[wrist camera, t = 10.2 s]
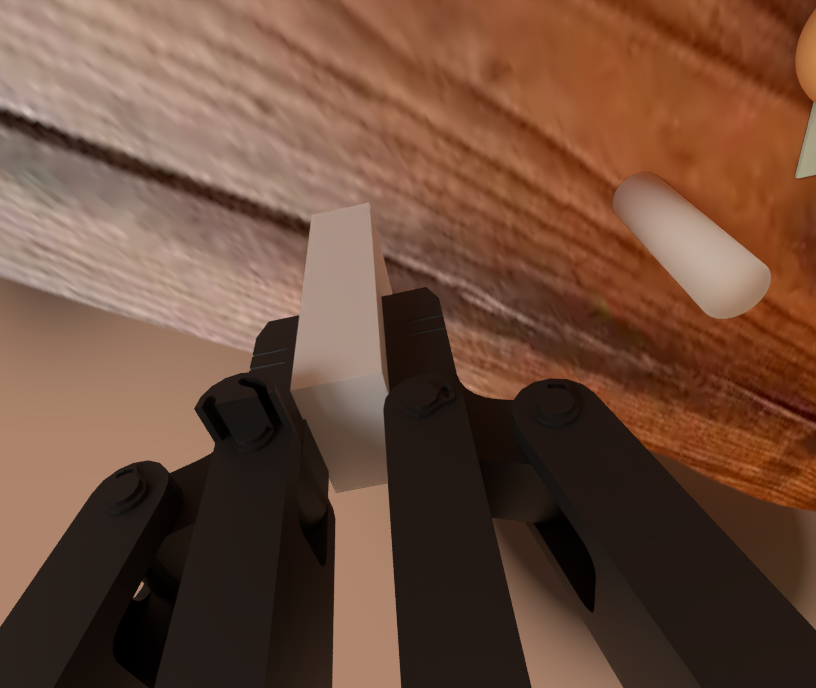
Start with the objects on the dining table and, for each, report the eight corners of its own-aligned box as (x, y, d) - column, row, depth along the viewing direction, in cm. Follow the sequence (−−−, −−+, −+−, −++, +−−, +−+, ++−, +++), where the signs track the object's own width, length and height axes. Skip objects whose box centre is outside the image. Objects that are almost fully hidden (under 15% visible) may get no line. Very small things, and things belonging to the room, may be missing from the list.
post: (611, 225, 29) (696, 324, 22) (613, 178, 27) (705, 267, 20) (661, 215, 29) (763, 311, 21) (666, 167, 27) (777, 253, 20)
